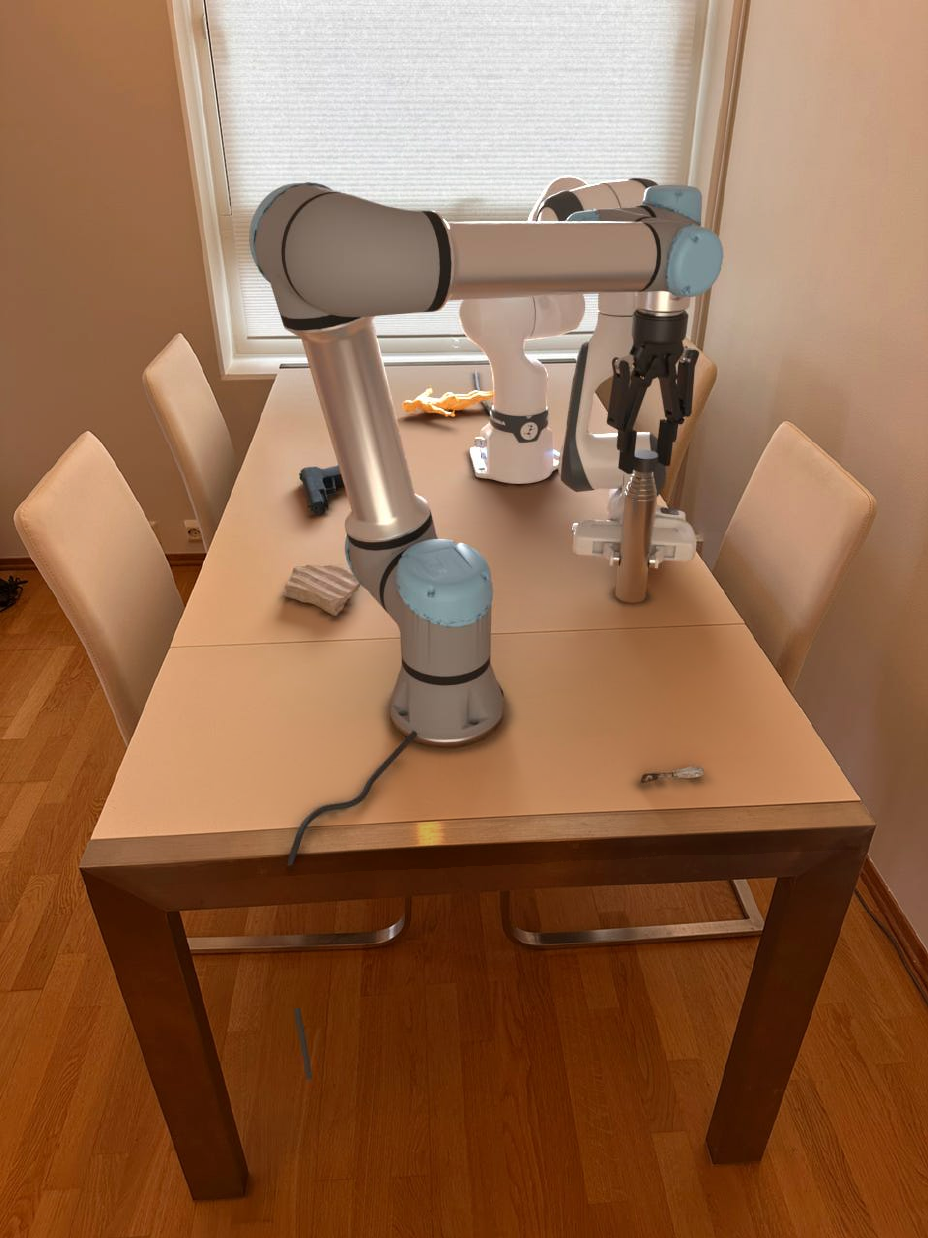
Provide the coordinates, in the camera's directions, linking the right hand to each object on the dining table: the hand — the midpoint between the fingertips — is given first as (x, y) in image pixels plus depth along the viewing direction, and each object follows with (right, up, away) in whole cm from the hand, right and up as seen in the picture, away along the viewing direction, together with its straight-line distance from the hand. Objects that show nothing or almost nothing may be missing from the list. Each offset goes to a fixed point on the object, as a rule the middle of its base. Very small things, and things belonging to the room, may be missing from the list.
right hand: (634, 563), depth 143 cm
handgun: (-54, +16, +39) cm, 69 cm away
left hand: (0, +14, -8) cm, 16 cm away
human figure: (-31, +44, +83) cm, 99 cm away
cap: (0, +16, -9) cm, 18 cm away
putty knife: (-2, -29, -34) cm, 45 cm away
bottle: (0, -5, +4) cm, 7 cm away
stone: (-51, -5, +4) cm, 51 cm away
